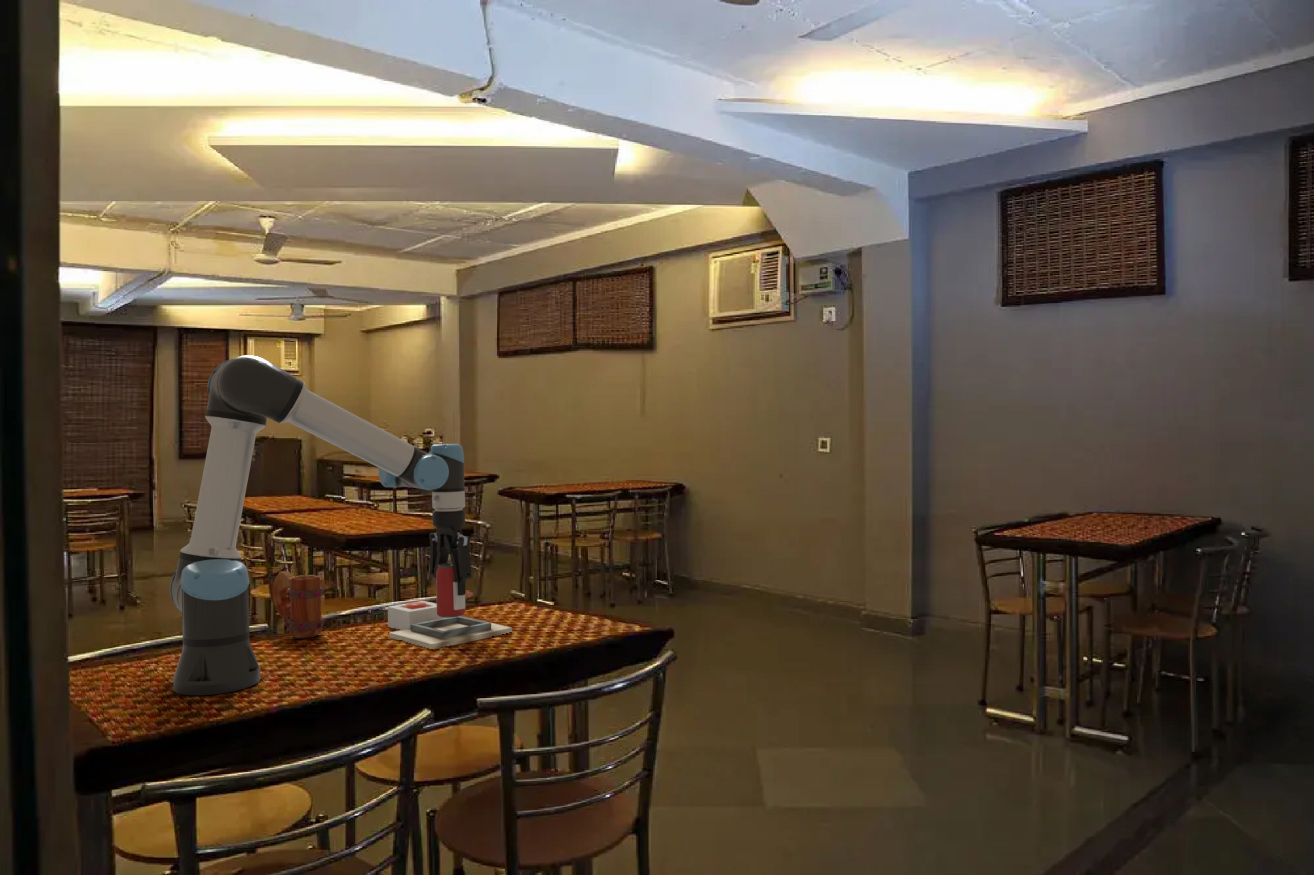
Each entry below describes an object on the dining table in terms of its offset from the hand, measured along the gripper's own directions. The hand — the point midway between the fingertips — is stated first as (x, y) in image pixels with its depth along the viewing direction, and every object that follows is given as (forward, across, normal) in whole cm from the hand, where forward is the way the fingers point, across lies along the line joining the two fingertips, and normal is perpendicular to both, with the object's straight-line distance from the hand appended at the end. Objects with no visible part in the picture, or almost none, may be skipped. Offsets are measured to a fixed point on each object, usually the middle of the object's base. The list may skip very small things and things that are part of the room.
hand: (450, 606), depth 220 cm
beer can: (+2, 0, 0) cm, 2 cm away
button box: (+7, -15, 0) cm, 16 cm away
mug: (+7, -28, -24) cm, 38 cm away
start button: (+5, -15, 0) cm, 16 cm away
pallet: (+7, 0, 0) cm, 7 cm away
